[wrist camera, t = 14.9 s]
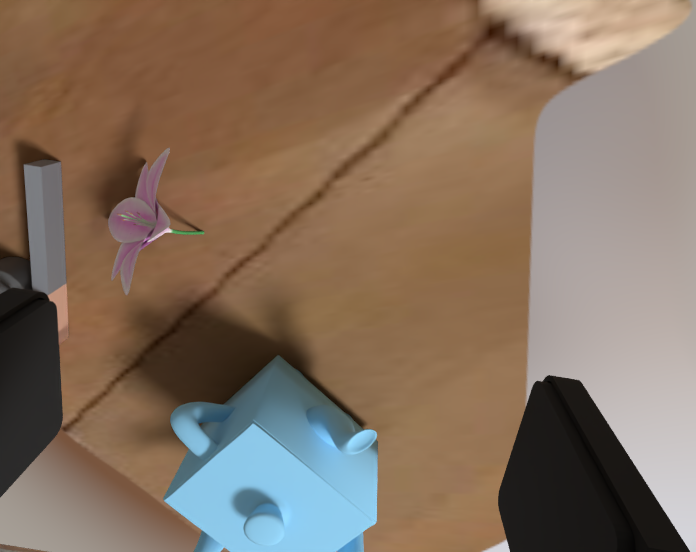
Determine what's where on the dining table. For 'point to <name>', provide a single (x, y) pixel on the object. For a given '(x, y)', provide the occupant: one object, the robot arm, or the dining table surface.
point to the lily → (139, 221)
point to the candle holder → (15, 274)
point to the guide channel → (47, 235)
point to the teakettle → (275, 469)
